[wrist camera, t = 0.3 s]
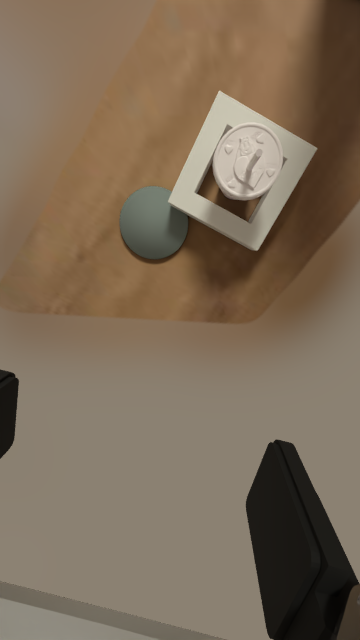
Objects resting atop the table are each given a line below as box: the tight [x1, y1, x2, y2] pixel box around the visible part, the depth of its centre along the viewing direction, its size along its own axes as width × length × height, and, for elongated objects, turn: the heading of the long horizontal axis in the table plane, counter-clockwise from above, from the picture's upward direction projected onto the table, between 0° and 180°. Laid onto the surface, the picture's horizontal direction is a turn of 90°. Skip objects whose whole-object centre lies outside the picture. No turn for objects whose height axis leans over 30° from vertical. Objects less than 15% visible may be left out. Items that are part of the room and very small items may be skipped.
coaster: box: [120, 186, 188, 259], centre depth 36 cm, size 9×9×1 cm
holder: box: [168, 91, 317, 251], centre depth 32 cm, size 12×12×4 cm
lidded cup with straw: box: [213, 122, 283, 200], centre depth 28 cm, size 6×6×14 cm
